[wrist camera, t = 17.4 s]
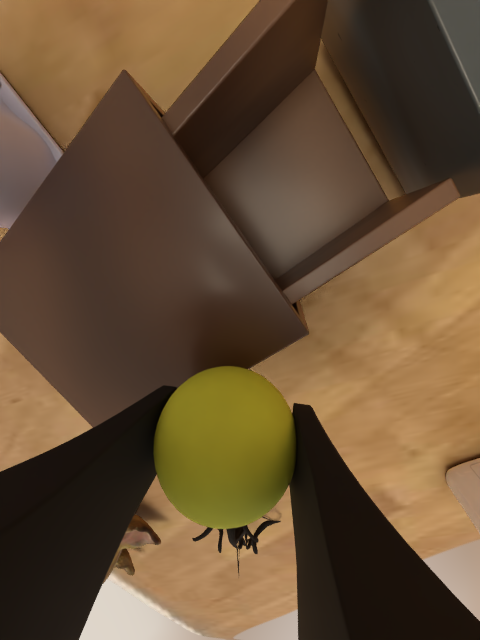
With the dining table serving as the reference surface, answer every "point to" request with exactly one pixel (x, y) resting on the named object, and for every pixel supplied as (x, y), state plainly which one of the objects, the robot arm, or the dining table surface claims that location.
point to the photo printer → (467, 488)
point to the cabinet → (134, 268)
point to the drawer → (335, 127)
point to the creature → (239, 536)
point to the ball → (225, 447)
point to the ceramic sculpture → (133, 544)
